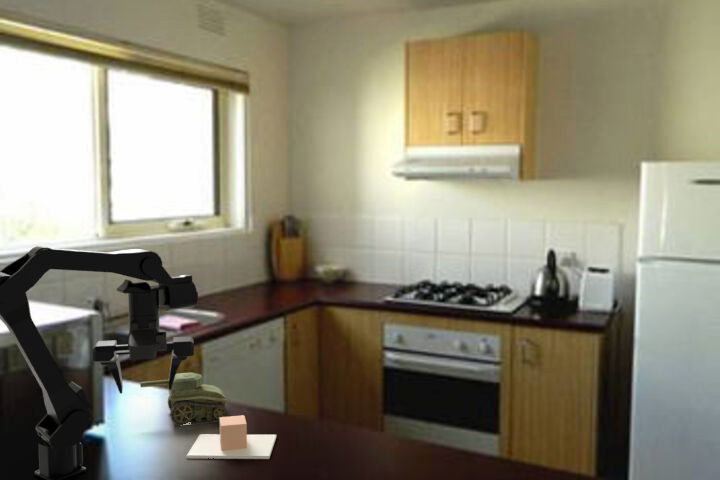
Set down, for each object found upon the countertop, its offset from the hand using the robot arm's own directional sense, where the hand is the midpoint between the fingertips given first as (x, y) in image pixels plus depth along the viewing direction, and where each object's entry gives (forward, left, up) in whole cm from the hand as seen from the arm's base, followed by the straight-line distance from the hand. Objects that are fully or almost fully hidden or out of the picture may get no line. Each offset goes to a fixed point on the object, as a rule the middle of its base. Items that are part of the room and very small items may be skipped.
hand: (145, 391), depth 133 cm
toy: (+17, +9, -12) cm, 22 cm away
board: (+11, -13, -12) cm, 21 cm away
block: (+11, -13, -11) cm, 20 cm away
